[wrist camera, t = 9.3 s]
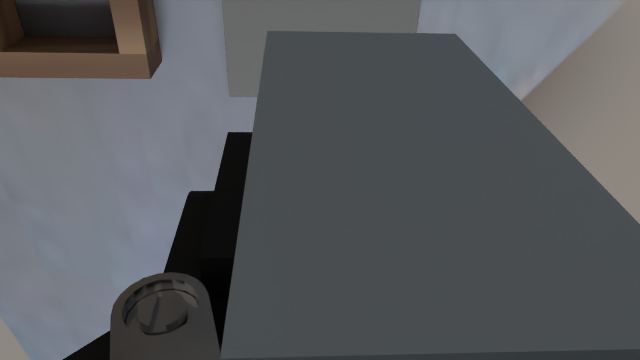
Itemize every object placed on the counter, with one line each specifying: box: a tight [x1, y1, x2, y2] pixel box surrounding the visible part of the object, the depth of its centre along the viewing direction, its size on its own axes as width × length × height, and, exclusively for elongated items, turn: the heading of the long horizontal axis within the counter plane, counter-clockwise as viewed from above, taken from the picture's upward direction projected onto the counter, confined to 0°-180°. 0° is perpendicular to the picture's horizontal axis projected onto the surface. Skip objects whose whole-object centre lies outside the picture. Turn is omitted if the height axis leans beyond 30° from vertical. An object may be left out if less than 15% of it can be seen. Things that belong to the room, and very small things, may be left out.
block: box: [220, 31, 640, 360], centre depth 10 cm, size 5×5×10 cm
